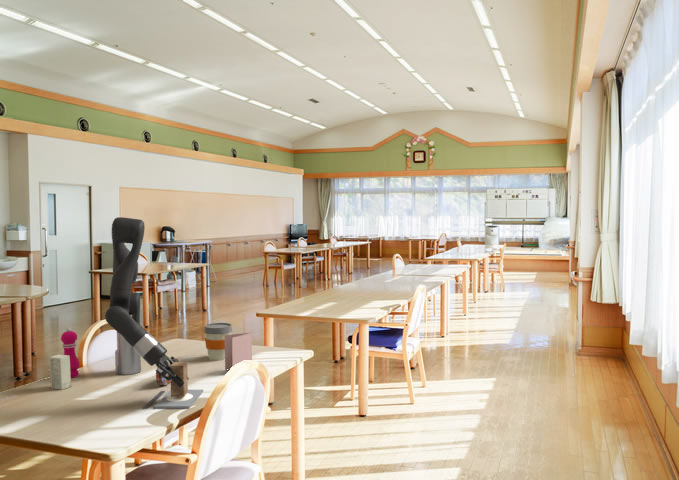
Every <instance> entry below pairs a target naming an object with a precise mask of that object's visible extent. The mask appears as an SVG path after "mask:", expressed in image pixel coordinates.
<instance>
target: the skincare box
mask: <svg viewBox="0 0 679 480" xmlns="http://www.w3.org/2000/svg"><path fill="white" fill-rule="evenodd" d="M49 371H50V373H49V374H50V389H55V390H64V389H65V390H66V389H68V388H70V387H72V378H71V374H70V356H69V355H64V354H59V353H58V354H56V355H52V356H49Z"/></svg>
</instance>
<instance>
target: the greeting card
mask: <svg viewBox="0 0 679 480" xmlns="http://www.w3.org/2000/svg"><path fill="white" fill-rule="evenodd" d="M252 337H253V336H252V332H248V333H245V332H244V333H231V335H225V360H224V371H230V370H229V369H230V368H231V367H232V366H234V365H235V364H237V363H239V362H241V361H243V360H252V361H253V346H252V345H253V342H252V341H253V338H252ZM227 369H228V370H227Z"/></svg>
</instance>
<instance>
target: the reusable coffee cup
mask: <svg viewBox="0 0 679 480" xmlns="http://www.w3.org/2000/svg"><path fill="white" fill-rule="evenodd" d="M203 332H204V336H205V337H204V341H205V348H206V349H207V355H208V360H210V361H222V360H221V359H225V335H231V334H232V332H233V326H232V323H227V322H214V323H213V322H212V323H208V324H205V325H204V331H203Z"/></svg>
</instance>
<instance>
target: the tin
mask: <svg viewBox="0 0 679 480" xmlns="http://www.w3.org/2000/svg"><path fill="white" fill-rule="evenodd" d="M175 359H176V360H177V362H180V361H179V359H178V358H175ZM156 367H157V366H156ZM157 368H158V367H157ZM157 368H156V369H157ZM167 377H168V376H167ZM155 380H156V382H157V384H158V386H159V385H160V386H168V385H169V384H170V385H171V380H169V381H168V380H166V379H165V378H164V377H162V376H161V375H160V374H158V373H157V372H156V371H155Z"/></svg>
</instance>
